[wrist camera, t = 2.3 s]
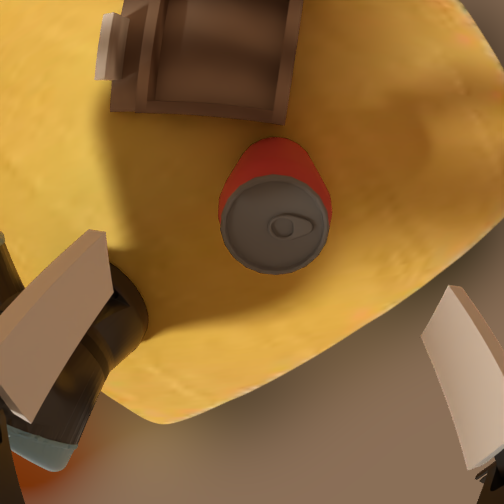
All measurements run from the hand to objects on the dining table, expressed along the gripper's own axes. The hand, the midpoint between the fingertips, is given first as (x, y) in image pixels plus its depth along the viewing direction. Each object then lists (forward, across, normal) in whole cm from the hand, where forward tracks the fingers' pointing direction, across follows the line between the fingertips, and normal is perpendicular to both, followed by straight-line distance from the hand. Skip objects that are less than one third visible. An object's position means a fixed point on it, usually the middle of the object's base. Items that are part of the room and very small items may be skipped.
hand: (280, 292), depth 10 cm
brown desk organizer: (+17, +8, -16) cm, 25 cm away
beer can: (+18, 0, 0) cm, 18 cm away
